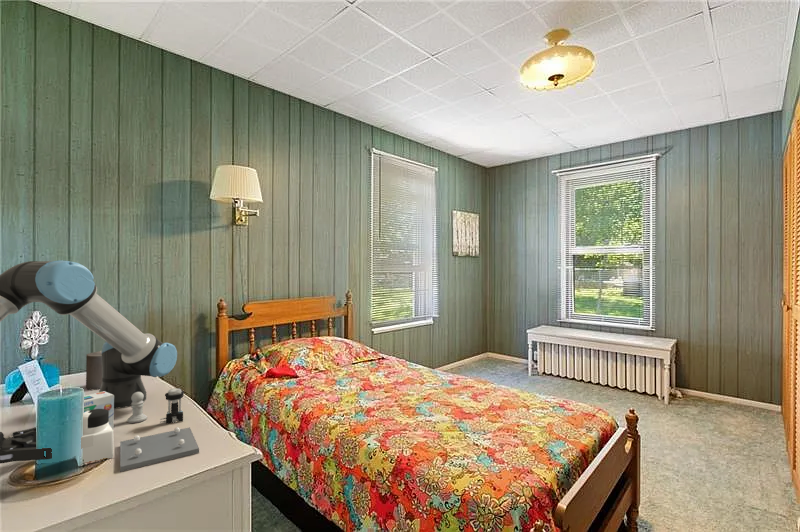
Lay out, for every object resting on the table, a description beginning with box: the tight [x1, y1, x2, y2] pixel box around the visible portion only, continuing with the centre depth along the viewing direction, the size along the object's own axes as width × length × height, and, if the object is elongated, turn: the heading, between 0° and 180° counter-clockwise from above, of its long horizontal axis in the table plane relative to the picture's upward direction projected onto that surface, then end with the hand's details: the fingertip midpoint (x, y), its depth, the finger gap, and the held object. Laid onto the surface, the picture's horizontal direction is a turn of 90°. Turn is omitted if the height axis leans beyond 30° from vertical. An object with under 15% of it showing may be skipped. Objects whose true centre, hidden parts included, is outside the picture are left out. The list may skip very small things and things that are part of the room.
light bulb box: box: [83, 391, 115, 431], centre depth 118 cm, size 11×7×11 cm, turn 148°
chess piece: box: [126, 392, 148, 424], centre depth 128 cm, size 5×5×9 cm
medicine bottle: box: [83, 409, 114, 462], centre depth 102 cm, size 7×7×12 cm
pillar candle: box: [85, 349, 102, 390], centre depth 165 cm, size 10×10×15 cm
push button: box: [159, 387, 185, 424], centre depth 126 cm, size 7×5×10 cm
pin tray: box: [119, 426, 200, 473], centre depth 107 cm, size 17×17×3 cm
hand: (95, 430), depth 102 cm, fingers open, 13 cm apart
